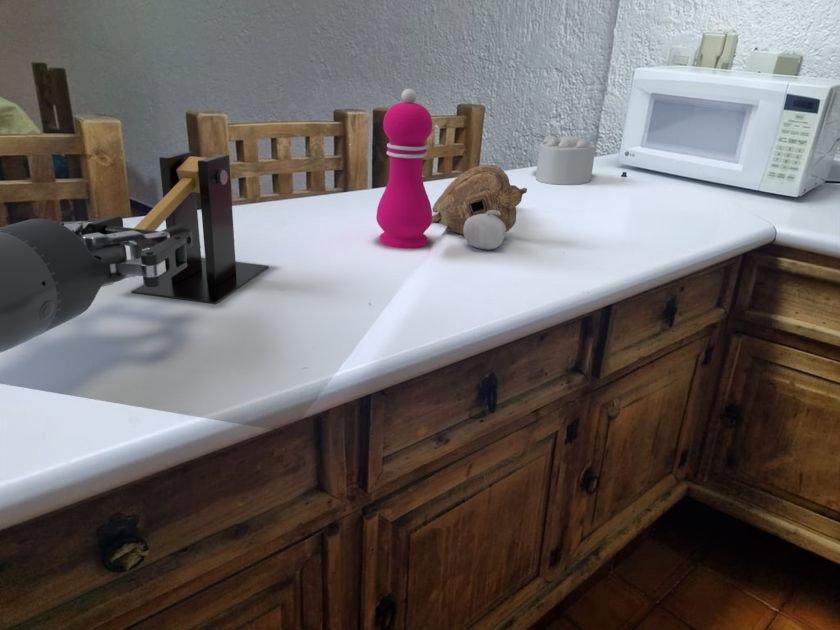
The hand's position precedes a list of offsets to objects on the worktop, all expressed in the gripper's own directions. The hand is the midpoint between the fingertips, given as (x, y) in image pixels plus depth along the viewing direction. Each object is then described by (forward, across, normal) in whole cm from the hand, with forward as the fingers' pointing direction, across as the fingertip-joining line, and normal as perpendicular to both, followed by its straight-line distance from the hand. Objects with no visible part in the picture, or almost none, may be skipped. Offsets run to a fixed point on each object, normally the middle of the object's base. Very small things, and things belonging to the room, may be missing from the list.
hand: (152, 231), depth 59 cm
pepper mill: (+30, -16, +8) cm, 35 cm away
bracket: (+8, 0, +8) cm, 11 cm away
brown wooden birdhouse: (+50, -24, +7) cm, 56 cm away
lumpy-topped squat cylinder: (+93, -35, +6) cm, 100 cm away
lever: (+3, 0, -1) cm, 4 cm away
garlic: (+35, -26, +8) cm, 44 cm away
